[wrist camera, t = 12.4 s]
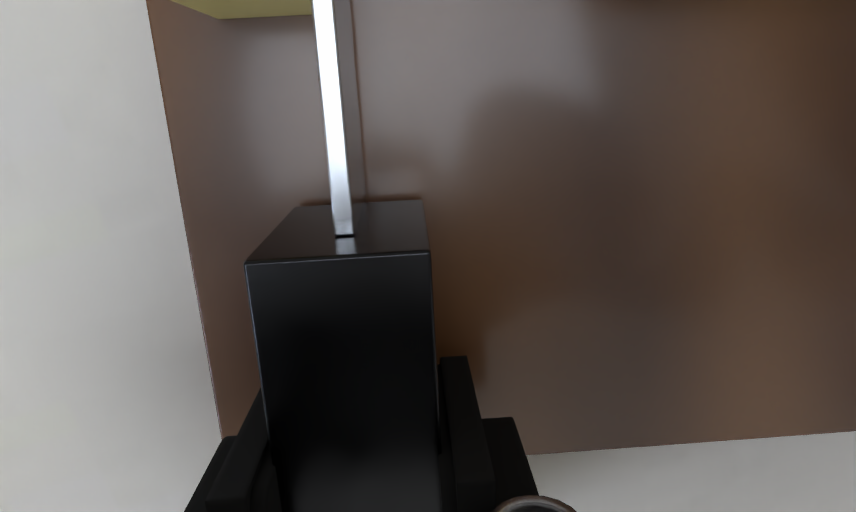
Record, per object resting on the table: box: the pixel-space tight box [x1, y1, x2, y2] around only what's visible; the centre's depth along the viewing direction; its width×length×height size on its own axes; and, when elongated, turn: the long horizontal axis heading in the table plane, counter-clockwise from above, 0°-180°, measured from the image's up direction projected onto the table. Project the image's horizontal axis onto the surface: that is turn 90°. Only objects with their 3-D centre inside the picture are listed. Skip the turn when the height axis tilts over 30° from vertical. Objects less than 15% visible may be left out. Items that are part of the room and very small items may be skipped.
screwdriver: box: [243, 0, 442, 512], centre depth 9 cm, size 19×2×4 cm, turn 3°
